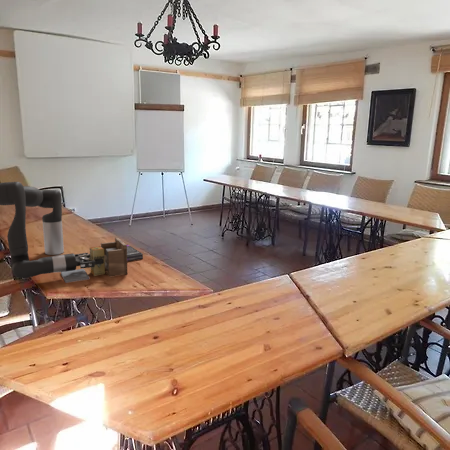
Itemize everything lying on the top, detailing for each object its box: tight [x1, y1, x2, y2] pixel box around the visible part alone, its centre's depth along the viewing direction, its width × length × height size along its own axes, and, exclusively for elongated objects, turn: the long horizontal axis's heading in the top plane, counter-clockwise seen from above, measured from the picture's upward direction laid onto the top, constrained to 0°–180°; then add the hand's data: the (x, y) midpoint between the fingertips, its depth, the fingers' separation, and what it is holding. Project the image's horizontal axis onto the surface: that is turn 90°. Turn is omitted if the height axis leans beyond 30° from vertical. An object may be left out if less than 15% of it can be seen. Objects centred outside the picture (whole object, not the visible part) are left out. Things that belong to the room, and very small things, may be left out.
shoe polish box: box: [89, 245, 106, 277], centre depth 182 cm, size 5×5×12 cm
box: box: [126, 244, 144, 263], centre depth 209 cm, size 14×4×20 cm
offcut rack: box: [100, 237, 128, 278], centre depth 185 cm, size 14×8×14 cm, turn 30°
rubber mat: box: [60, 268, 91, 284], centre depth 178 cm, size 12×10×1 cm
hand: (101, 258), depth 183 cm, fingers open, 8 cm apart
